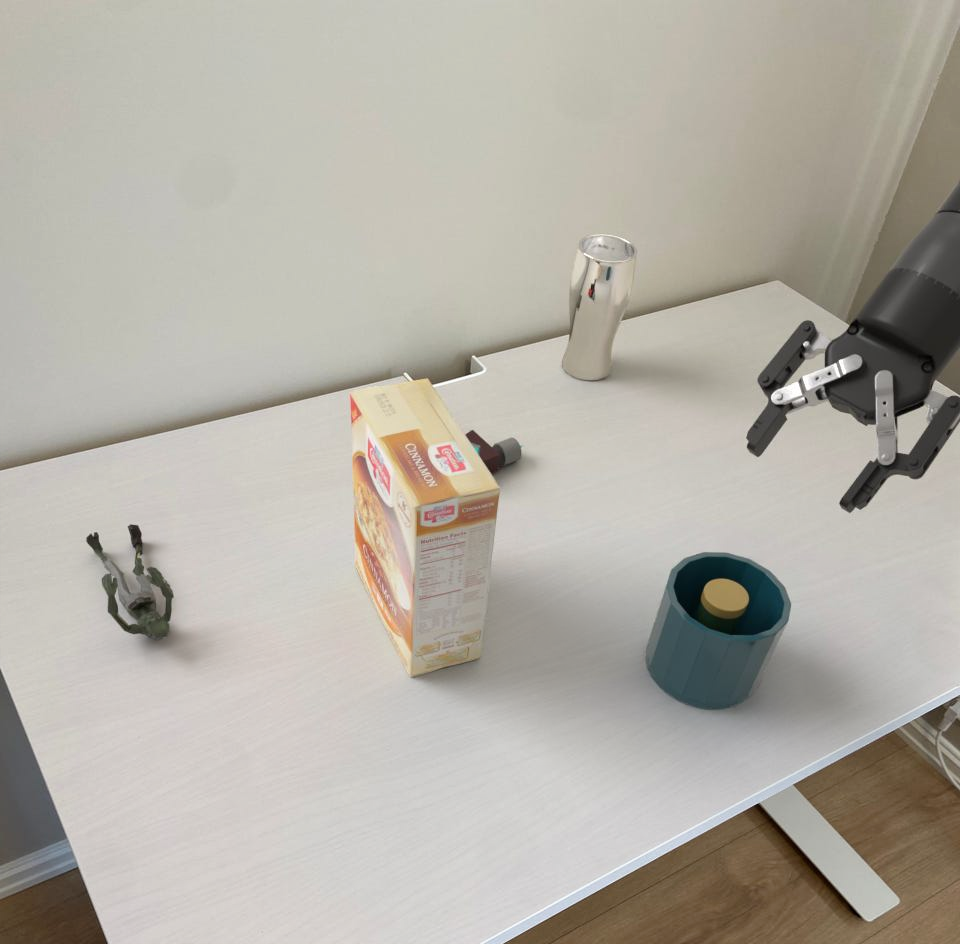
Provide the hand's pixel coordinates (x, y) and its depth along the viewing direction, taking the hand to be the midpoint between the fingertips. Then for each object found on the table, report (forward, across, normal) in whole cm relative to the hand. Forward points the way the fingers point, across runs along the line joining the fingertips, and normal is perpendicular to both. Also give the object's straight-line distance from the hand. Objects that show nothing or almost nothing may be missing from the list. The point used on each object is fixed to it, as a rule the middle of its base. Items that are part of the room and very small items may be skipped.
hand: (797, 479), depth 74 cm
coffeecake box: (+27, -22, 0) cm, 35 cm away
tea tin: (+16, -1, +10) cm, 19 cm away
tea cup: (+16, 0, +11) cm, 20 cm away
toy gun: (+14, -36, +13) cm, 41 cm away
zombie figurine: (+40, -38, -14) cm, 57 cm away
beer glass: (-3, -39, +30) cm, 50 cm away
